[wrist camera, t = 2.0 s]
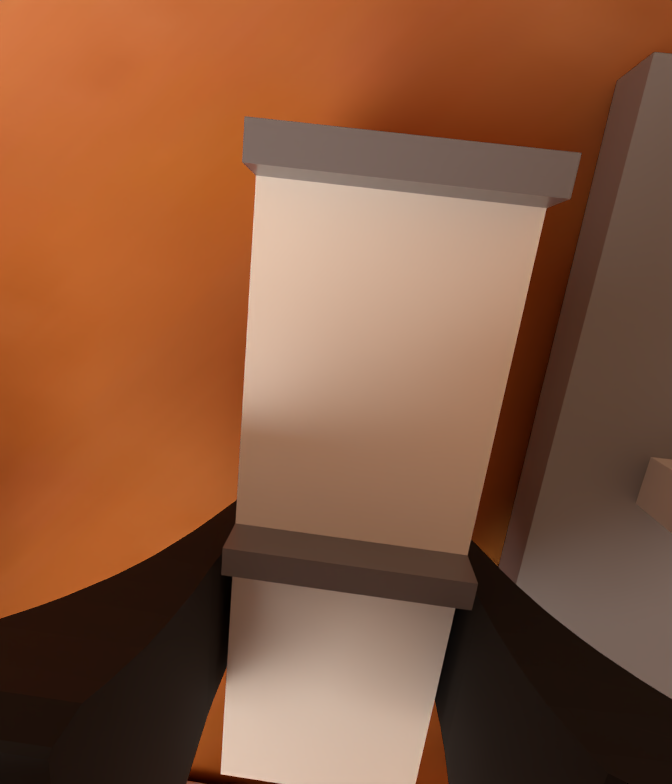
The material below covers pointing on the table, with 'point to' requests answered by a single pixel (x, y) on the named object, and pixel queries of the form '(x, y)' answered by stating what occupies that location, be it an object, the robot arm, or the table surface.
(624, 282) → the jig
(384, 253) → the cream rectangular block
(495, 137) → the table surface
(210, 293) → the table surface
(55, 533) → the table surface
